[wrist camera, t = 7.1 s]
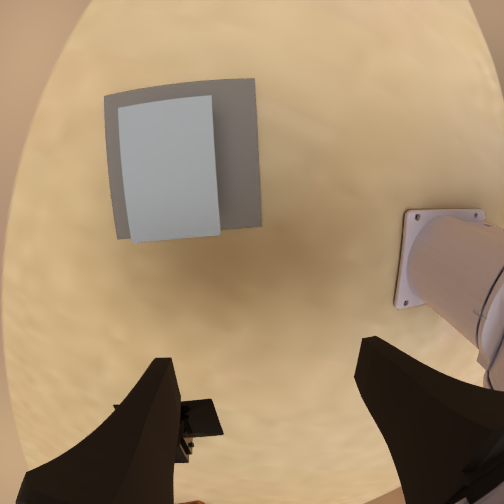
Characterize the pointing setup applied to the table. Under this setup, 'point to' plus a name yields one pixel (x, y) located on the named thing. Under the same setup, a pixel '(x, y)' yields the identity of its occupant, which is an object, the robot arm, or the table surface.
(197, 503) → the milk carton
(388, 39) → the table surface
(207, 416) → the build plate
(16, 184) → the table surface
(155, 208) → the brick
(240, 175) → the mat
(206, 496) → the table surface
